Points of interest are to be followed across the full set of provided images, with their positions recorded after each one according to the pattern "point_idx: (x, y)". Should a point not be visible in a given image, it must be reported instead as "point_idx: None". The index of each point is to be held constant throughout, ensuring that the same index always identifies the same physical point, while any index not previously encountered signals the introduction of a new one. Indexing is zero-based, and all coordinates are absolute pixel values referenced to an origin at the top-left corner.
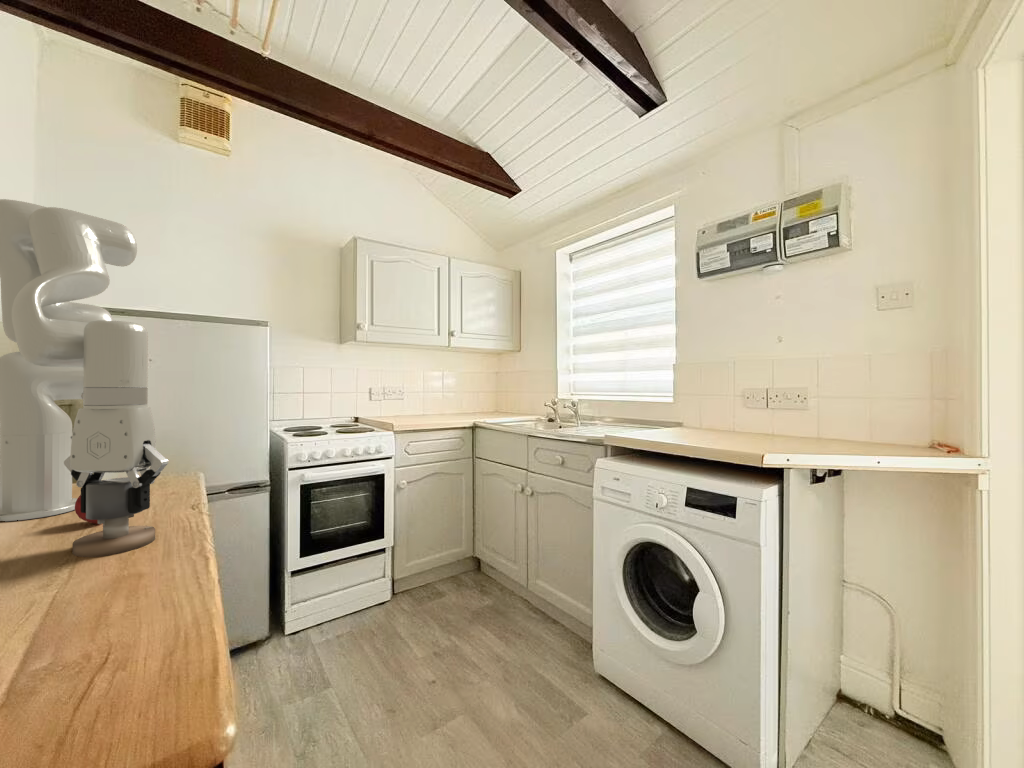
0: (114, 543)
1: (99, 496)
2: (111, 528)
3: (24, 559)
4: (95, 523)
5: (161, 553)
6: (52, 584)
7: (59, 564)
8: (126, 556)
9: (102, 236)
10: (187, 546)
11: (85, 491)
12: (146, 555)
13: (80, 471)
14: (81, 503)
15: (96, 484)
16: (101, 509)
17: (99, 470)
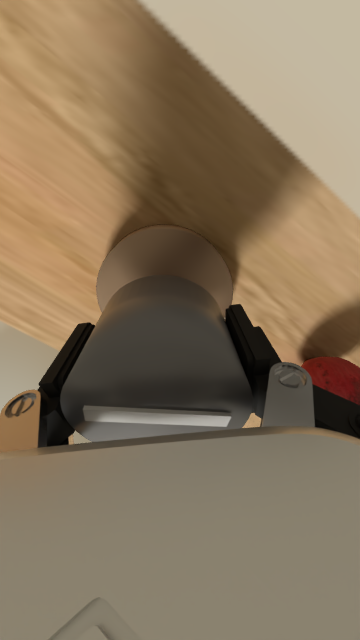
0: (111, 262)
1: (123, 319)
2: None
3: (282, 189)
4: (309, 359)
5: (22, 272)
6: (8, 29)
7: (164, 176)
8: (71, 246)
9: None
10: (21, 309)
11: (245, 350)
12: (37, 258)
13: (284, 428)
14: (245, 318)
15: (185, 375)
16: (126, 294)
17: (116, 449)
